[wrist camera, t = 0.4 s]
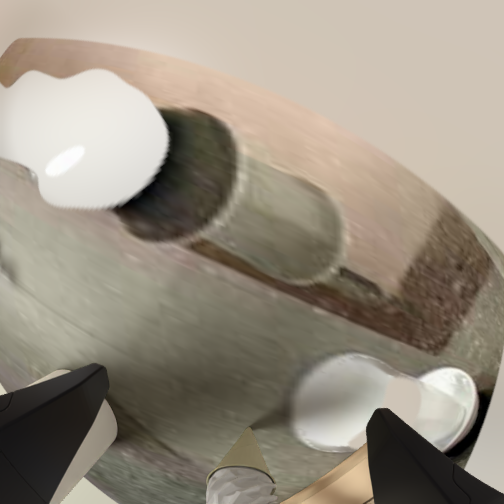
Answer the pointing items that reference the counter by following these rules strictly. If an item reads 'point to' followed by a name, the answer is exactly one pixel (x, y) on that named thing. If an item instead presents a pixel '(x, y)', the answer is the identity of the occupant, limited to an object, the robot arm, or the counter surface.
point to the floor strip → (340, 483)
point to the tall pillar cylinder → (86, 445)
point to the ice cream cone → (241, 475)
